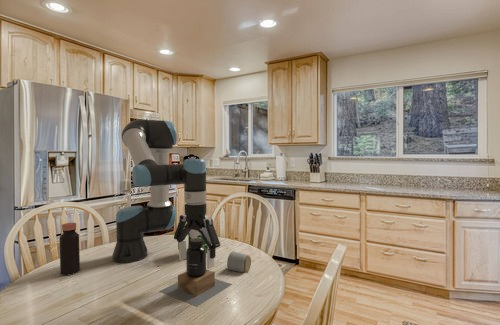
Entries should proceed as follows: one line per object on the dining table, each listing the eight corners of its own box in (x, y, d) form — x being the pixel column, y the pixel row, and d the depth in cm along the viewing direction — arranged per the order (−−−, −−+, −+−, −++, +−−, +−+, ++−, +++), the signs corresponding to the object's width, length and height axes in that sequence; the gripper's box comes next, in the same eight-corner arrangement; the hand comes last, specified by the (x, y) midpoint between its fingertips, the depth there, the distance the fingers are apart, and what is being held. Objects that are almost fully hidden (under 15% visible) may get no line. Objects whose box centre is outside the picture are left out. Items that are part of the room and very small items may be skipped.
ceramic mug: (245, 276, 111) (245, 257, 111) (226, 273, 114) (226, 254, 114) (254, 267, 121) (254, 249, 121) (237, 264, 124) (237, 246, 124)
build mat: (159, 294, 97) (158, 291, 97) (196, 275, 112) (196, 272, 112) (196, 309, 87) (196, 306, 87) (232, 286, 102) (232, 284, 102)
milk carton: (198, 248, 145) (198, 209, 144) (211, 251, 139) (210, 211, 139) (185, 253, 138) (184, 212, 137) (198, 257, 132) (197, 214, 132)
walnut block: (177, 289, 98) (177, 275, 98) (196, 279, 106) (196, 266, 106) (196, 296, 93) (196, 281, 93) (214, 285, 101) (214, 272, 101)
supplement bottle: (189, 279, 95) (189, 244, 95) (184, 272, 101) (183, 238, 101) (209, 275, 98) (208, 241, 98) (202, 268, 104) (202, 236, 104)
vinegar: (56, 273, 115) (55, 224, 114) (73, 267, 121) (72, 221, 120) (66, 277, 112) (65, 226, 111) (83, 270, 118) (82, 223, 117)
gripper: (163, 201, 103) (164, 259, 103) (215, 208, 89) (216, 275, 89) (179, 198, 109) (179, 253, 110) (230, 204, 95) (230, 267, 96)
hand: (196, 263), depth 99 cm, fingers open, 13 cm apart
